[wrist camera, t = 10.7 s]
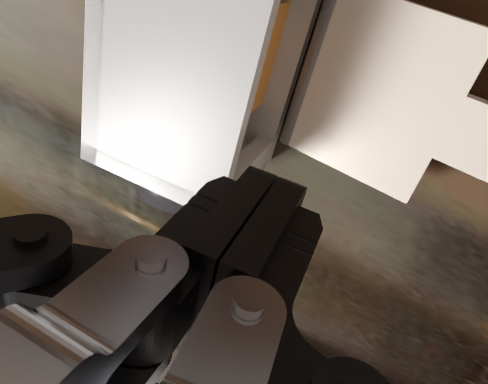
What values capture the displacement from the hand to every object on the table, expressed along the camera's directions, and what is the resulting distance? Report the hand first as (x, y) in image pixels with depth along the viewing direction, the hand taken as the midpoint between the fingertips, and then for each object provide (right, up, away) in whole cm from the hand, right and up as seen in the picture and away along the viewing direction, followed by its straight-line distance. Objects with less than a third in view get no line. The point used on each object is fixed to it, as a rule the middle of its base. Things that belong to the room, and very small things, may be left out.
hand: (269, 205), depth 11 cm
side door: (+4, +9, +17) cm, 20 cm away
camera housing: (-1, +10, +20) cm, 23 cm away
